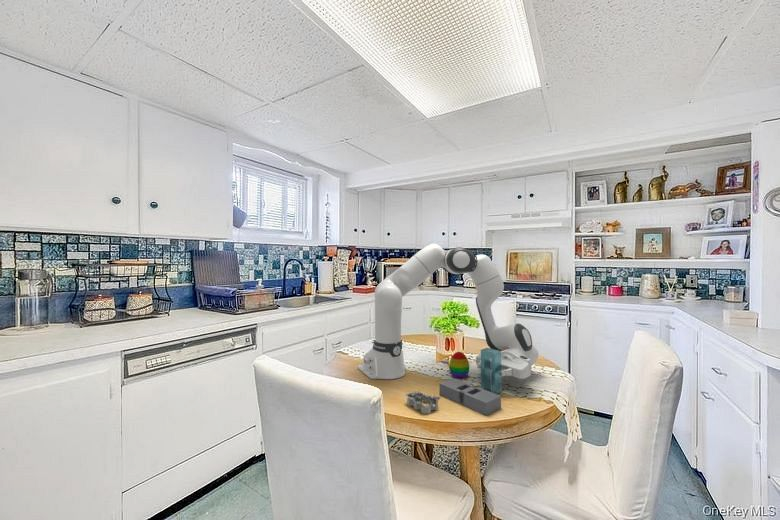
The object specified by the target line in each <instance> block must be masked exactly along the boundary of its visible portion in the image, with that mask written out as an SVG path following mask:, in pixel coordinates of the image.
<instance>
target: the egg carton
mask: <svg viewBox="0 0 780 520" xmlns="http://www.w3.org/2000/svg"><path fill="white" fill-rule="evenodd" d="M405 396H406V397H407V399H406V400H407V402H406V403H407V404H406V405H408V406H409V407H411V406H413V409H415V410H420V411H421V412H422V414H428V413H429V414H431V413H432V411H438V410H439V402H438V401H439V400H441V398H440V397H439V396H438V395H431V394H427V393H422V392H421V391H419V390H418V391H413V392H409V393H405ZM423 403H425V404H424V405H423ZM427 403H428V404H429V405H427Z"/></svg>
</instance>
